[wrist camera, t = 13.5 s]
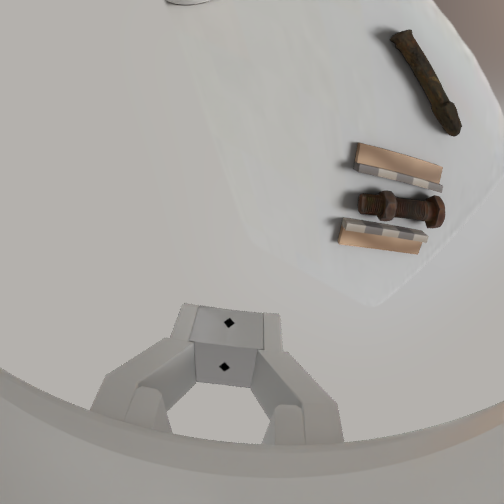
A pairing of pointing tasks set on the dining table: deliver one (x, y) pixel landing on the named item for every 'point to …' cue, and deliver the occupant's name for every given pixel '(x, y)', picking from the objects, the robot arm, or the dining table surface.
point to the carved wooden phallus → (428, 82)
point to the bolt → (403, 208)
